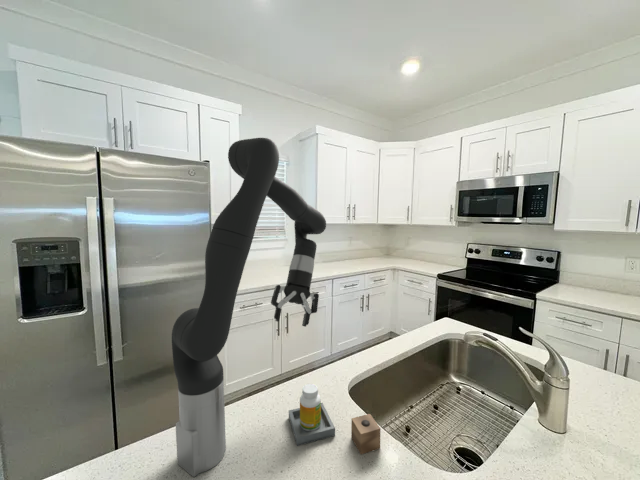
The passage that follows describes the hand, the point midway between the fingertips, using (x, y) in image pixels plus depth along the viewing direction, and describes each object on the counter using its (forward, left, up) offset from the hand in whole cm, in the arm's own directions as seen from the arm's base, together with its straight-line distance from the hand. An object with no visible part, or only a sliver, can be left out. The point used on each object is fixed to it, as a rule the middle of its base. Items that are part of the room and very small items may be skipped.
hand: (290, 323), depth 81 cm
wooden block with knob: (-6, -26, -22) cm, 35 cm away
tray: (-8, -12, -22) cm, 26 cm away
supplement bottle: (-8, -12, -22) cm, 26 cm away
